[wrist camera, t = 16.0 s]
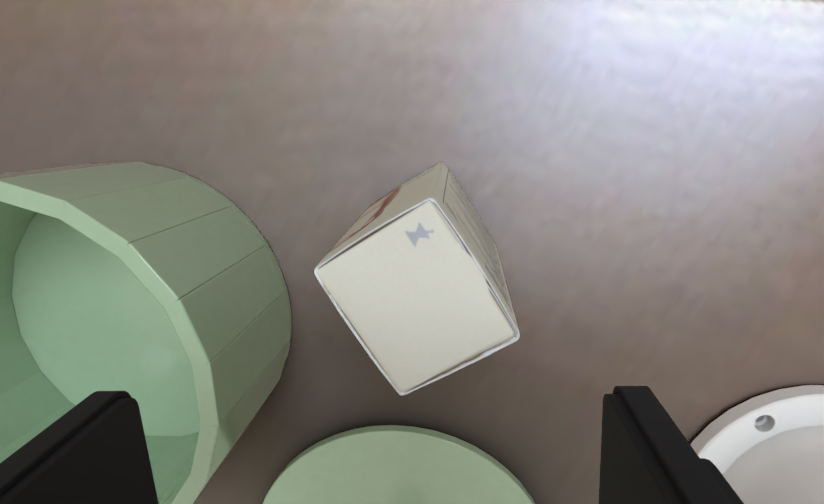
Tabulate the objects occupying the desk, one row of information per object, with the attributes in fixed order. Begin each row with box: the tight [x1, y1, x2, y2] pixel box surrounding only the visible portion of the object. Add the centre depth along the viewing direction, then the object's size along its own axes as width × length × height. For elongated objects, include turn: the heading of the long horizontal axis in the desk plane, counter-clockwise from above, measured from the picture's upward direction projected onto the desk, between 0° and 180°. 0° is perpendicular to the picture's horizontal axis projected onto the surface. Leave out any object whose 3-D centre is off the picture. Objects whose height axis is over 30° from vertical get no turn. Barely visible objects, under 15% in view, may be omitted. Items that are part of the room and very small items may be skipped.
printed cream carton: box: [314, 162, 520, 396], centre depth 20 cm, size 5×4×10 cm
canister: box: [0, 162, 292, 504], centre depth 23 cm, size 15×15×8 cm
